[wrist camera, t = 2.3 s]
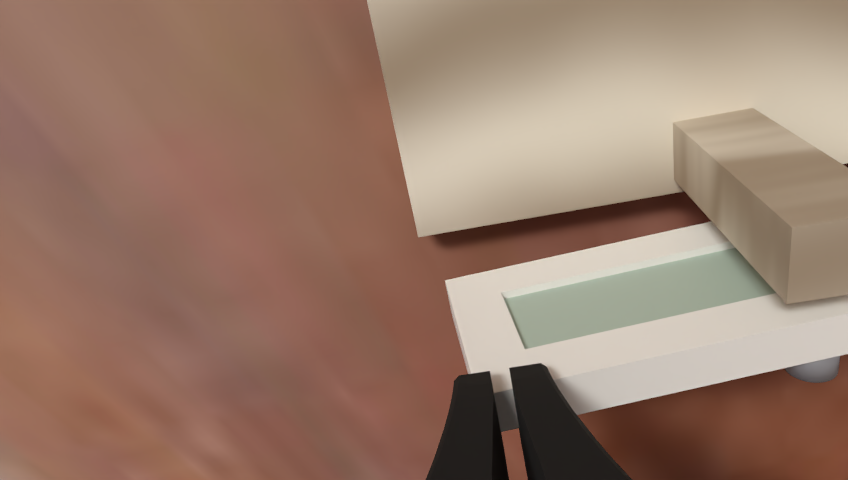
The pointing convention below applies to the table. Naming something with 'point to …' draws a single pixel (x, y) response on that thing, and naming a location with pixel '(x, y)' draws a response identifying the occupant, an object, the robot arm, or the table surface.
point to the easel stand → (630, 117)
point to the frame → (641, 321)
